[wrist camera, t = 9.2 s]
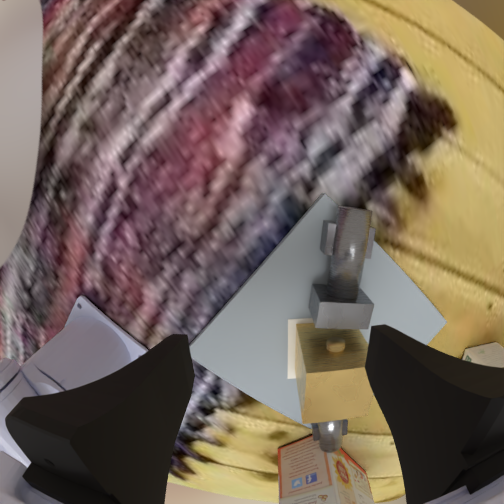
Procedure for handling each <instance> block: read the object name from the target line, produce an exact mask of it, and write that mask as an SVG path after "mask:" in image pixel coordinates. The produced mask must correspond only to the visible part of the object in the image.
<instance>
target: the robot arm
mask: <svg viewBox="0 0 504 504" xmlns="http://www.w3.org/2000/svg"><path fill="white" fill-rule="evenodd" d="M80 304H81V306H82V307H81V306H80ZM140 355H141V356H140ZM365 370H366V374H367V377H368V380H369V384H370V387H371V389H372V391H373V393H374V395H375V398H376V400H377V402H378V404H379V406H380V408H381V410H382V412H383V414H384V417H385V419H386V421H387V423H388V425H389V428H390V430H391V433H392V435H393V439H394V442H395V446H396V449H397V453H398V457H399V461H400V465H401V470H402V475H403V480H404V486H405V493H406V502H407V504H504V368H500V367H492V366H486V365H481V364H477V363H472V362H469V361H465V360H462V359H459V358H456V357H453V356H450V355H448V354H445V353H443V352H440V351H438V350H436V349H434V348H431V347H429V346H427V345H425V344H423V343H421V342H419V341H417V340H415V339H414V338H412V337H410V336H408V335H406V334H404V333H402V332H400V331H399V330H397V329H395V328H393V327H390V326H388V325H386V324H383V325H375V326H371V331H370V338H369V344H368V351H367V357H366V362H365ZM194 377H195V374H194V369H193V364H192V359H191V353H190V348H189V342H188V336H187V335H182V334H172V335H170V336H169V337H167V338H166V339H164V340H163V341H161V342H160V343H159V344H157V345H156V346H155V347H153V348H152V349H150V350H148V349H147V348H145V347H144V346H143V345H141V344H140V343H139V342H137V341H136V340H135V339H134V338H132V337H131V336H130V335H129V334H127V333H126V332H125V331H124V330H122V329H121V328H120V327H119V326H118V325H116V324H115V323H114V322H113V321H112V320H110V319H109V318H108V317H107V316H106V315H105V314H103V313H102V312H101V311H100V310H99V309H98V308H97V307H96V306H94V305H93V304H92V303H91V302H90V301H89V300H88V299H87V298H86V297H84V296H79V297H78V298H77V300H76V302H75V305H74V307H73V309H72V311H71V313H70V315H69V317H68V320H67V322H66V324H65V326H64V329H62V330H61V331H60V332H59V333H58V334H57V335H55V336H54V337H53V338H52V339H51V340H50V341H48V342H47V343H46V344H45V345H44V346H43V347H42V348H40V349H39V350H38V351H37V352H36V353H35V354H34V355H33V356H32V357H30V358H29V359H28V360H27V361H26V362H25V363H24V364H23V365H21V366H20V365H19V364H18V362H17V361H16V360H15V359H12V360H11V359H9V358H3V359H1V360H0V504H164V502H165V494H166V486H167V479H168V473H169V468H170V462H171V457H172V452H173V448H174V444H175V440H176V437H177V434H178V431H179V429H180V426H181V423H182V420H183V417H184V415H185V412H186V409H187V406H188V403H189V400H190V397H191V393H192V388H193V383H194Z"/></svg>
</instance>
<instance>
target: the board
mask: <svg viewBox="0 0 504 504" xmlns="http://www.w3.org/2000/svg"><path fill="white" fill-rule="evenodd" d="M337 209H338V205H337V204H336V203H335V202H334V201H333V200H331V199H330V198H329V197H328V196H327V195H326V194H325V193H322V194H321V195H320V197H319V198H318V199H317V200H316V201H315V202H314V204H313V205H312V206H311V207H310V208H309V209H308V211H307V212H306V213H305V214H304V215H303V216H302V217H301V219H300V220H299V221H298V222H297V223H296V224H295V226H294V227H293V228H292V229H291V230H290V231H289V233H288V234H287V235H286V236H285V237H284V238H283V239H282V241H281V242H280V243H279V244H278V245H277V246H276V248H275V249H274V250H273V251H272V252H271V253H270V254H269V256H268V257H267V258H266V259H265V260H264V261H263V262H262V264H261V265H260V266H259V267H258V268H257V269H256V270H255V272H254V273H253V274H252V275H251V276H250V277H249V278H248V280H247V281H246V282H245V283H244V284H243V285H242V286H241V287H240V289H239V290H238V291H237V292H236V293H235V294H234V295H233V297H232V298H231V299H230V300H229V301H228V302H227V303H226V304H225V306H224V307H223V308H222V309H221V310H220V311H219V312H218V313H217V315H216V316H215V317H214V318H213V319H212V320H211V321H210V322H209V323H208V325H207V326H206V327H205V328H204V329H203V330H202V331H201V332H200V334H199V335H198V336H197V337H196V338H195V339H194V340H193V341H192V342H191V344H190V345H189V348H190V353H191V358H192V359H194V360H195V361H196V362H198V363H199V364H201V365H202V366H204V367H205V368H207V369H208V370H210V371H211V372H213V373H214V374H216V375H217V376H219V377H220V378H222V379H224V380H225V381H227V382H228V383H230V384H231V385H233V386H235V387H236V388H238V389H240V390H241V391H243V392H244V393H246V394H248V395H249V396H251V397H253V398H255V399H256V400H258V401H260V402H261V403H263V404H265V405H267V406H268V407H270V408H272V409H274V410H276V411H278V412H279V413H281V414H283V415H285V416H287V417H289V418H291V419H292V420H294V421H296V422H298V423H300V424H302V425H304V426H306V427H308V428H310V429H312V428H311V423H308V424H303V423H302V416H301V409H300V402H299V395H298V389H297V382H296V375H295V346H296V324H303V323H314V322H313V319H312V317H311V314H310V311H309V308H308V305H309V299H310V292H311V286H312V284H326V285H327V281H328V275H329V268H330V262H331V255H324V254H323V252H322V251H321V250H320V242H321V234H322V226H323V220H330V221H336V217H337ZM360 288H361V289H362V290H363V291H364V293H365V294H366V295H367V296H368V297H369V298H370V300H371V301H372V302H373V303H374V308H373V312H372V316H371V320H370V324H369V328H368V329H359V330H360V331H361V333H362V335H363V336H364V338H365V340H366V342H367V343H368V344H369V338H370V331H371V326H375V325H383V324H386V325H388V326H390V327H393V328H395V329H397V330H399V331H400V332H402V333H404V334H406V335H408V336H410V337H412V338H414V339H415V340H417V341H419V342H421V343H423V344H425V345H427V344H428V343H429V342H430V341H431V340H432V339H433V337H434V336H435V335H436V334H437V333H438V332H439V331H440V330H441V329H442V327H443V326H444V325H445V324H446V323H447V321H446V320H445V319H444V318H443V316H442V315H441V314H440V313H439V312H438V310H437V309H436V308H435V307H434V306H433V304H432V303H431V302H430V301H429V300H428V298H427V297H426V296H425V295H424V294H423V293H422V292H421V290H420V289H419V288H418V287H417V286H416V285H415V284H414V282H413V281H412V280H411V279H410V278H409V277H408V276H407V275H406V274H405V273H404V271H403V270H402V269H401V268H400V267H399V266H398V265H397V264H396V263H395V262H394V261H393V260H392V259H391V258H390V256H389V255H388V254H387V253H386V252H385V251H384V250H383V249H382V248H381V247H380V246H379V245H378V244H377V243H376V242H375V241H374V243H373V249H372V255H371V259H366V258H365V262H364V268H363V273H362V278H361V284H360ZM373 395H374V393H373Z"/></svg>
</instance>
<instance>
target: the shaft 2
mask: <svg viewBox="0 0 504 504" xmlns="http://www.w3.org/2000/svg"><path fill="white" fill-rule="evenodd" d="M347 426H348V421H347V419H343V420H336V421H328V422H319V423H311V428H312V434H313V440H314V441H317V440H319V447H320V449H321V450H322V451H324V452H327V453H332V452H335V451H337V450H339V449H340V447H341V446H342V435H346V434H347Z"/></svg>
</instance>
